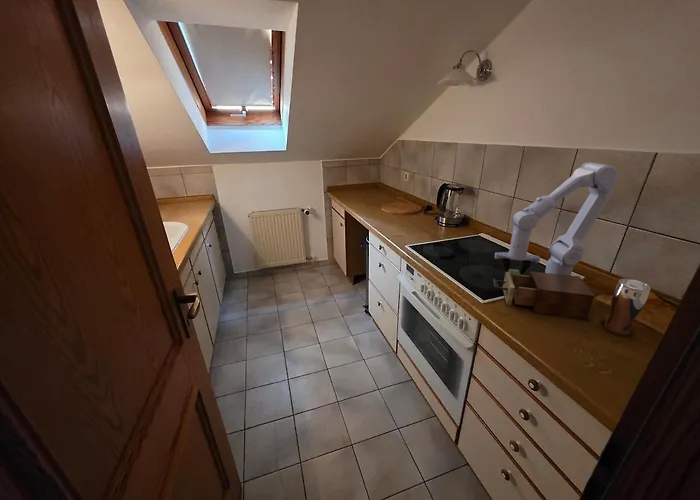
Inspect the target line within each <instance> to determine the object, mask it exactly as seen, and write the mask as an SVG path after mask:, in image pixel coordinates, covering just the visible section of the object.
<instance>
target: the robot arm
mask: <svg viewBox="0 0 700 500" xmlns="http://www.w3.org/2000/svg"><path fill="white" fill-rule="evenodd" d="M619 177H620V174H619V172H618V169H617V168H616V167H615V166H614V165H612V164H603V163H599V162H594V161H586V162H584V163H583V164H582V165H580V167H578V168H576V169H575V170H574V172H573V173H572V175H571V176H570V177H568V178H567V179H566V180H565V181H563V183H561V184H560V185H559V186H557V188H555V189H554V190H553V191H552V192H551V193H550V194H548V195H541V196H538V197H537V198H536V199H535V201H533V203H531V204H530V205H528V206H526V207H524V208H523V210H519V211H517V212H515V214H514V215H513V217H511V222H512V223H513V229H512V233H511V239H510V244H509V245H510V246H509V249H508V251H501V252H500V251H497V252H495V253H494V259H495V260H498V259H501V260H502V264H503V268H504V274H505V273H506V272H508V270H509V269H510V267H511V261H520V264H519V269H518V270H519V272H520V275H525V272H527V270H528V269H529V268H530V267H531V266H532V263H536V264H539V263H540V260H541V258H540V256H539V255H535V254H534V255H533V254H528V249H529V244H530V240H531V235H532V230H533V229H535V228H536V227H537V225H538V223H539V221H540V220H541V219H542V218H544V217H545V216H546V215H548V214H549V213H551V211H553V210H555V208H556V204H557V203H558V202H560V201H561V200H562V199H564V198H566V197H567V196H569V195H570V194H572V193H574V192H575V191H576V190H578V189H580V188H587V189H588V191H589V194H588V196H587V197H586V199H585V201H584V202H583V204H582V206H581V207H580V209H579V211H578V212H577V214H576V216H575V218H574V219H573V220H572V223H571V224H570V226H569V227H568V229H567V230H566V232H565V234H563V235H559V236H557V238H556V240H555V241H553V242H552V243H551V244H550V246H549V247H548V252H549V254H550V257H549V258H548V260H547V262H546V266H545V271H544V273H551V274H560V275H569V276H572V273H573V270H574V267H575V266H576V265H577V264H578V263H580V261H581V260H582V257H583V252H584V251H585V246H584V239H585V237H586V236H587V234H589V231H590V230H591V228H592V227H593V225H594V224H595V222H596V221H597V219H598V217H599V216H600V214H601V212H602V211H603V209H604V208H605V206H606V205H607V204H608V202H609V200H610V199H611V197H612V195H613V194H614V190H615V184H616V182H617V180H618V179H619ZM531 262H532V263H531Z"/></svg>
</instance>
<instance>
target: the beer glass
mask: <svg viewBox="0 0 700 500" xmlns="http://www.w3.org/2000/svg"><path fill="white" fill-rule="evenodd" d="M651 289H652V288H651V286H650V285H648V284H647V283H645V282H643V281H640V280H637V279H633V278H620V279H619V280H618V282H617V285H616V287H615V288H614V291H613V292H612V296H611V302H610V310H609V315H608V317H607V319H606V320H605V321H604V323H603V326H604V328H605V329H606V330H608V331H609V332H611V333H614V334H615V335H616V334H617V335H620V336H629V335H631V333H632V328H633V324H634V322H635V320H636V318H637V317H638V315H639V314H641V312H642V311H643V309H644V308H645V305H646V304H647V302H648V299H649V295H650V292H651Z"/></svg>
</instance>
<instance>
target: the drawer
mask: <svg viewBox="0 0 700 500" xmlns="http://www.w3.org/2000/svg"><path fill="white" fill-rule="evenodd" d="M499 283H500V284H501V283H502V284H503V285H502V286H499ZM492 285H493V288H494V291H498V290H502V291H503V295H504V299H505V303H506V305H507V306H512V302H514V304H515V305H518V306H519V305H520V306H525V307H526V306H527V307H531V306H533V307H534V304H535V300H536V296H537V292H538V289H537V287H536V284H535V282H534V280H533V278H532V276H530V275H526V274H523V275H519V274H514V275H513V280H512V278H511V275H510V272H506V273H505V272H504V279H503V280H500V279H497V278H492Z"/></svg>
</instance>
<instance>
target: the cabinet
mask: <svg viewBox="0 0 700 500" xmlns="http://www.w3.org/2000/svg"><path fill="white" fill-rule="evenodd" d="M529 276H532V278H533V280H534V282H535V284H536V287H537V289H538V292H537V296H536V300H535V304H534V307H533V306H530V307H531V310H532V313H539V314H546V315H552V316H560V317H567V318H574V319H581V320H587V319H588V316H589V315H590V314H589V313H590V310H591V308H592V304H593V301H594V298H595V293H593V292H592V290H591V289H590V287H589V286H588V285H587V284H586V282H585V281H584V280H583V279H582V277H581V276H579V275H571V276H569V275H560V274H551V273H545V272H541V271H540V272H539V271H530V273H529Z"/></svg>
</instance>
